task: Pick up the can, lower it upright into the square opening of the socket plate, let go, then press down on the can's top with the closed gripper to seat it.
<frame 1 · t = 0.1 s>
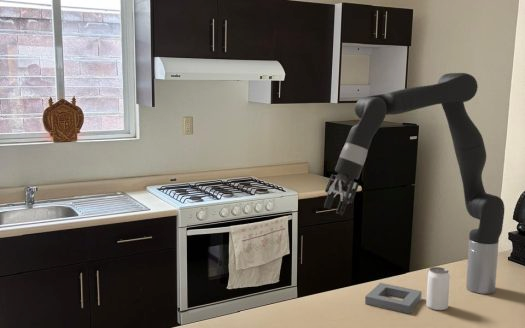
hand: (332, 211, 159), 31 cm above the table, tool tilted 20°, fingers open, 8 cm apart
can: (437, 307, 167), on the table
socket plate: (393, 301, 171), on the table
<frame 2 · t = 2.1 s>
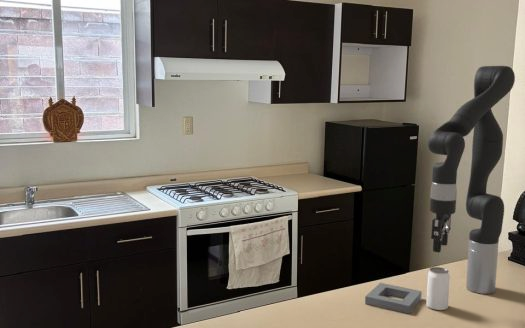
hand: (440, 248, 164), 19 cm above the table, tool pointing down, fingers open, 8 cm apart
nothing on the table moved.
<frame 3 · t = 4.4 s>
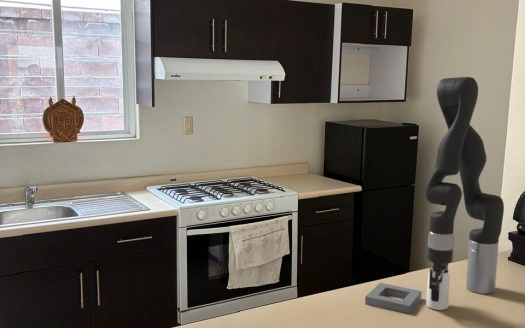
hand: (437, 297, 167), 3 cm above the table, tool pointing down, fingers closed on can, 6 cm apart
can: (436, 307, 167), on the table, touching gripper
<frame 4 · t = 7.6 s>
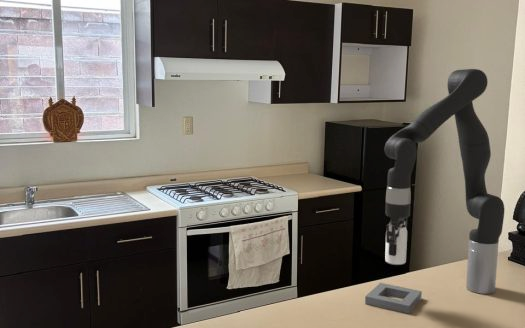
hand: (395, 252, 169), 16 cm above the table, tool pointing down, fingers closed on can, 6 cm apart
can: (395, 262, 169), point 13 cm above the table, touching gripper
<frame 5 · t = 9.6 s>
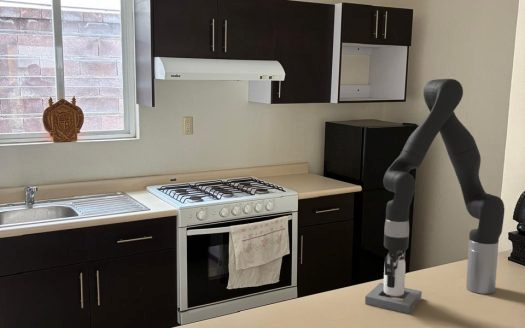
hand: (394, 283, 170), 6 cm above the table, tool pointing down, fingers closed on can, 6 cm apart
can: (393, 293, 171), point 3 cm above the table, touching gripper
when the fingers open (4 cm above the table, at t = 11.2 s): can stays where it is, resting in socket plate.
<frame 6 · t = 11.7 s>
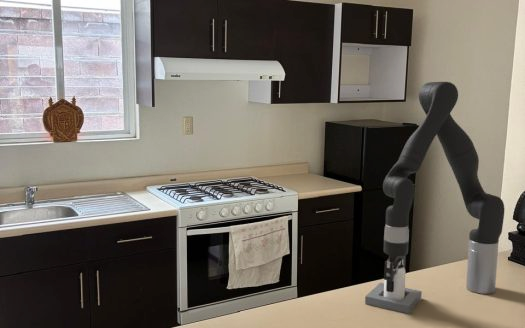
hand: (394, 287, 171), 5 cm above the table, tool pointing down, fingers open, 8 cm apart
can: (393, 301, 171), resting in socket plate
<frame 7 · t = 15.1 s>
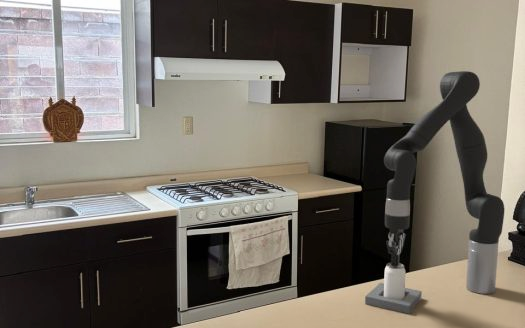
hand: (395, 265, 169), 12 cm above the table, tool pointing down, fingers closed
can: (393, 301, 171), resting in socket plate, touching gripper
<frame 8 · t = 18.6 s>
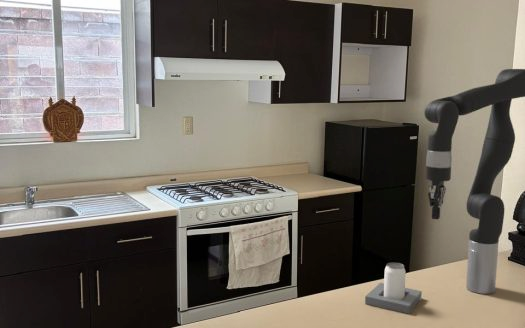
hand: (435, 218, 169), 27 cm above the table, tool pointing down, fingers closed
can: (393, 301, 171), resting in socket plate
at the end: can 0.1 cm off-centre on the socket plate, point 0.0 cm above the socket plate's base; can tilted 0°; the gripper is holding nothing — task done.
